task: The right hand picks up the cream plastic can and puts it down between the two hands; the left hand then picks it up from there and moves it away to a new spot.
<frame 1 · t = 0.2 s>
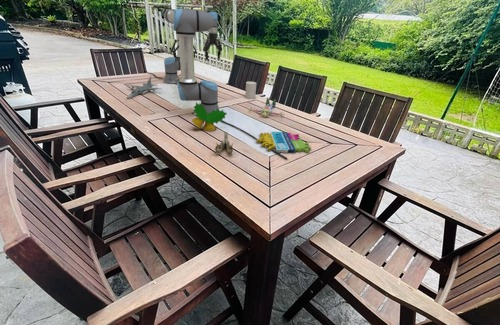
left hand: (212, 59, 233), 28 cm above the table, tool pointing down, fingers open, 13 cm apart
right hand: (184, 62, 211), 28 cm above the table, tool pointing down, fingers open, 13 cm apart
airplane: (143, 92, 225), on the table
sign: (281, 143, 152), on the table
ornament: (209, 128, 165), on the table
jawbone: (224, 151, 138), on the table
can: (250, 97, 235), on the table
toy: (267, 112, 201), on the table
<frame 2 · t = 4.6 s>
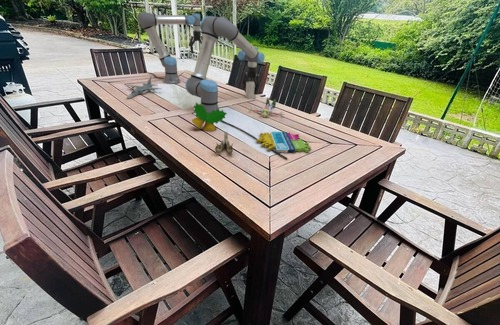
left hand: (197, 53, 277), 26 cm above the table, tool pointing down, fingers open, 13 cm apart
right hand: (250, 93, 233), 4 cm above the table, tool pointing down, fingers closed on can, 9 cm apart
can: (250, 97, 235), on the table, touching right hand
everything else where it was.
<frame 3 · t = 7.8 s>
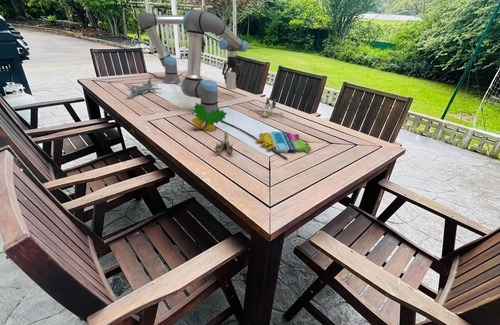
left hand: (197, 53, 277), 26 cm above the table, tool pointing down, fingers open, 13 cm apart
right hand: (231, 83, 228), 11 cm above the table, tool pointing down, fingers closed on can, 9 cm apart
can: (231, 88, 230), point 7 cm above the table, touching right hand
everything else where it was.
when the right hand's fingers open (5 cm above the table, at t = 11.1 s): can drops 1 cm, on the table.
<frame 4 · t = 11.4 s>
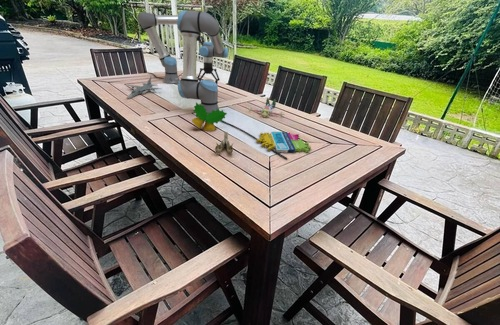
left hand: (197, 53, 277), 26 cm above the table, tool pointing down, fingers open, 13 cm apart
right hand: (208, 88, 230), 6 cm above the table, tool pointing down, fingers open, 12 cm apart
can: (208, 95, 232), on the table
everything else where it was.
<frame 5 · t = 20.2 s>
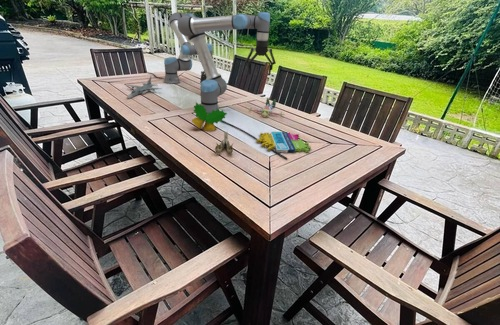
left hand: (208, 90, 231), 4 cm above the table, tool pointing down, fingers closed on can, 9 cm apart
right hand: (259, 74, 177), 29 cm above the table, tool pointing down, fingers open, 13 cm apart
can: (208, 95, 232), on the table, touching left hand
everything else where it was.
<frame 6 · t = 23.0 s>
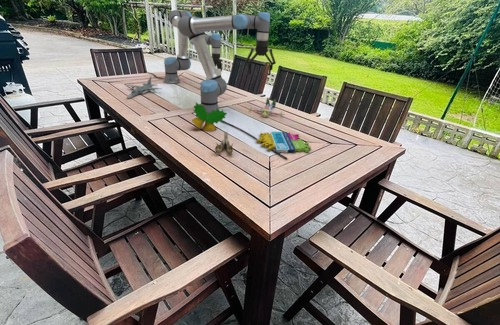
left hand: (216, 79, 239), 11 cm above the table, tool pointing down, fingers closed on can, 9 cm apart
right hand: (259, 74, 177), 29 cm above the table, tool pointing down, fingers open, 13 cm apart
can: (216, 83, 241), point 7 cm above the table, touching left hand
everything else where it was.
when the left hand's fingers open (5 cm above the table, at t = 26.1 s): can drops 1 cm, on the table.
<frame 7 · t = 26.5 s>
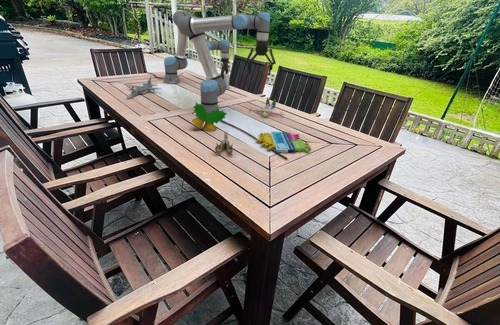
left hand: (224, 80, 255), 7 cm above the table, tool pointing down, fingers open, 13 cm apart
right hand: (259, 74, 177), 29 cm above the table, tool pointing down, fingers open, 13 cm apart
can: (224, 87, 259), on the table
everything else where it was.
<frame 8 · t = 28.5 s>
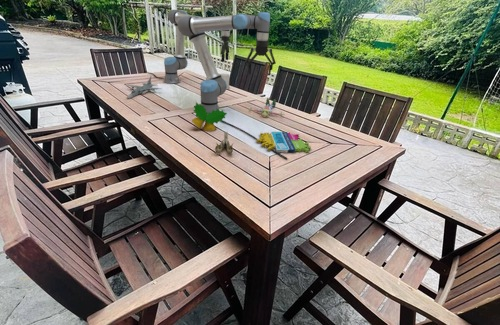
left hand: (224, 60, 246), 25 cm above the table, tool pointing down, fingers open, 13 cm apart
right hand: (259, 74, 177), 29 cm above the table, tool pointing down, fingers open, 13 cm apart
nothing on the table moved.
at the end: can inside the target area (0.0 cm from its centre), on the table; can tilted 0°; the two hands never held the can at the same time; the left hand is holding nothing; the right hand is holding nothing; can at rest at the end (0.0 cm/s) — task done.
